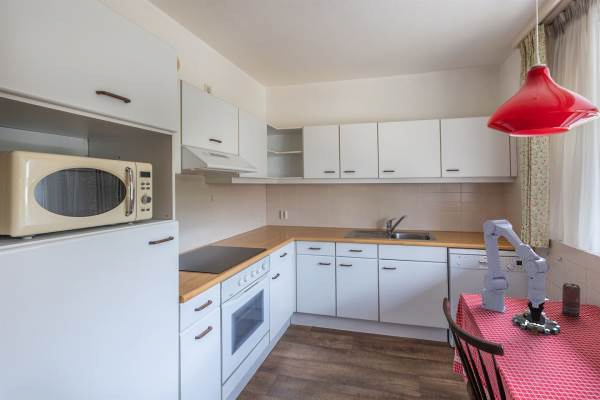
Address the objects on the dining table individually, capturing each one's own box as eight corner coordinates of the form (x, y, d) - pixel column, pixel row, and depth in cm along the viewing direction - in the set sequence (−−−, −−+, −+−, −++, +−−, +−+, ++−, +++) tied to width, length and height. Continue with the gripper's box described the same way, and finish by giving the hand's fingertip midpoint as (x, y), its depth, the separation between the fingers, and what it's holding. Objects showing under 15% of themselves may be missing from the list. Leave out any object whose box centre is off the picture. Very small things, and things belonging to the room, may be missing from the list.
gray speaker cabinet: (545, 322, 128) (545, 312, 128) (544, 326, 125) (545, 316, 125) (527, 318, 132) (527, 309, 132) (526, 321, 129) (527, 312, 129)
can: (571, 311, 144) (572, 282, 144) (583, 317, 138) (584, 287, 137) (558, 311, 145) (559, 282, 144) (568, 317, 139) (569, 287, 138)
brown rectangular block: (531, 333, 125) (531, 327, 125) (531, 332, 126) (531, 326, 125) (537, 335, 123) (537, 329, 123) (537, 334, 124) (537, 328, 124)
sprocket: (534, 335, 123) (534, 325, 123) (504, 317, 139) (504, 309, 139) (570, 332, 124) (570, 323, 124) (536, 315, 140) (536, 307, 140)
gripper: (548, 294, 119) (547, 328, 120) (549, 284, 131) (548, 315, 131) (526, 290, 124) (525, 323, 125) (528, 281, 135) (527, 311, 136)
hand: (535, 318), depth 128 cm, fingers closed on gray speaker cabinet, 4 cm apart
